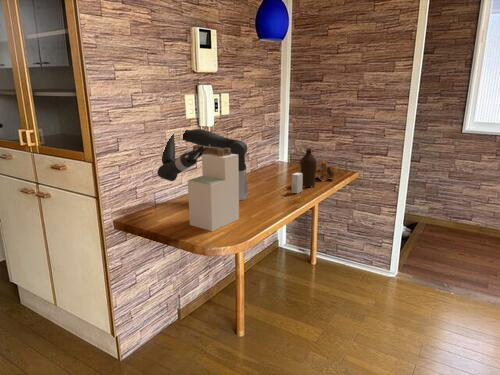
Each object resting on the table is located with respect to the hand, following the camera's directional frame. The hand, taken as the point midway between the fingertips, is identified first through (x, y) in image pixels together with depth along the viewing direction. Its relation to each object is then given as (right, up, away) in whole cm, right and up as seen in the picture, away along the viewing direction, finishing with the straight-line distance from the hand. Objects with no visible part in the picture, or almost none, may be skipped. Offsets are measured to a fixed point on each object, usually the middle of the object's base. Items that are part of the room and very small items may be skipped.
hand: (207, 147), depth 178 cm
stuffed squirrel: (+73, -14, +80) cm, 110 cm away
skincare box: (+49, -23, +49) cm, 73 cm away
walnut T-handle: (+2, -3, 0) cm, 4 cm away
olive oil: (+58, -19, +64) cm, 89 cm away
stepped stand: (+4, -36, +1) cm, 36 cm away
